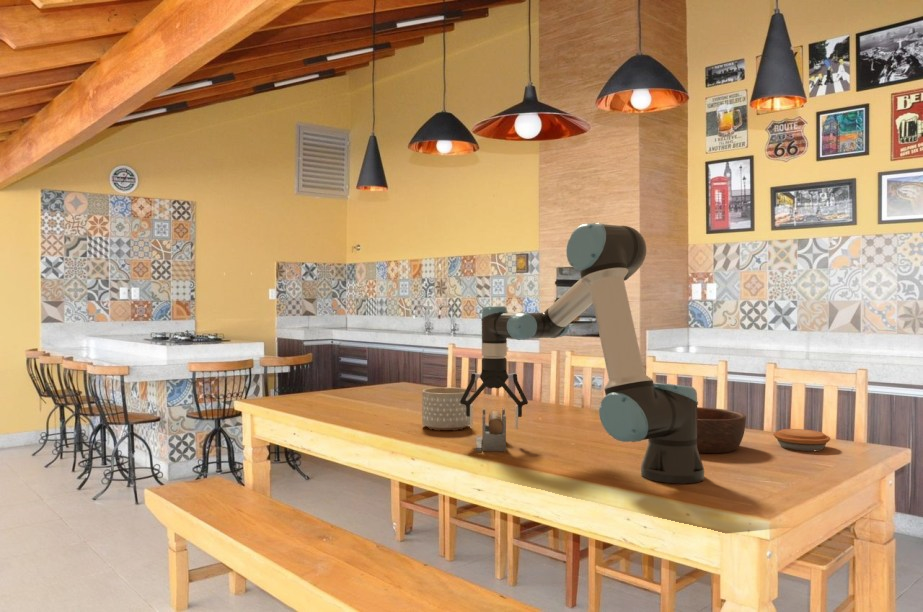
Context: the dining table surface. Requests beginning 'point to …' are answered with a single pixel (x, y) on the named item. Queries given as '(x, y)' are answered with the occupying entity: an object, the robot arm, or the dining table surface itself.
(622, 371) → the robot arm
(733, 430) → the wooden bowl
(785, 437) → the pie
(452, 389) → the planter
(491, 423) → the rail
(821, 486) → the dining table surface
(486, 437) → the bracket
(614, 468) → the dining table surface
